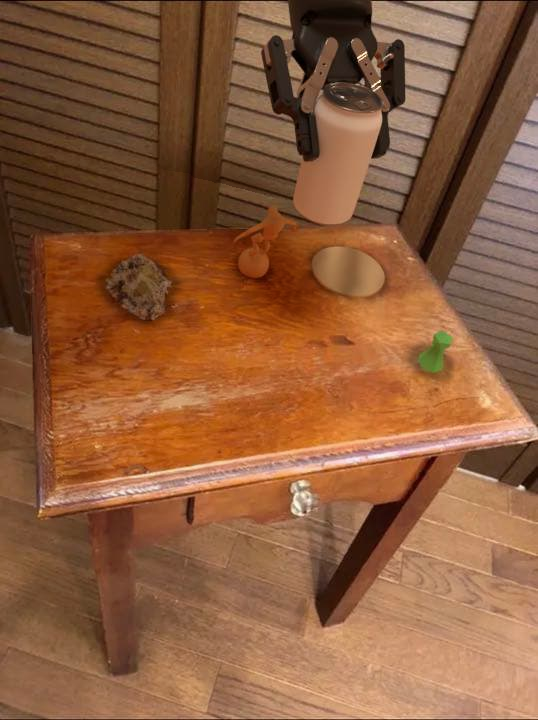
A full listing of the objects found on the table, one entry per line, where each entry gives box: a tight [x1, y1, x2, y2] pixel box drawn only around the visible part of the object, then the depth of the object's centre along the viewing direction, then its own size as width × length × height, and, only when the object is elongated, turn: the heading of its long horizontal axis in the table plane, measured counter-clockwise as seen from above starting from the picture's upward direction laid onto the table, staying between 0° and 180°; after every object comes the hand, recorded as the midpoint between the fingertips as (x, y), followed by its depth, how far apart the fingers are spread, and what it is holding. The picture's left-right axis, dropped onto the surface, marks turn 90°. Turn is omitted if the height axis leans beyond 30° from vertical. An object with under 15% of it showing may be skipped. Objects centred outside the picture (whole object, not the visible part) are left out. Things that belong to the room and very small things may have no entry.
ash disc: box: [310, 245, 386, 299], centre depth 79 cm, size 10×10×2 cm
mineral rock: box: [105, 253, 174, 321], centre depth 70 cm, size 11×4×8 cm
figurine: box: [232, 204, 298, 279], centre depth 72 cm, size 8×6×12 cm
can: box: [292, 82, 383, 227], centre depth 57 cm, size 6×6×12 cm
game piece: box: [417, 330, 453, 374], centre depth 68 cm, size 4×4×6 cm
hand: (345, 157), depth 55 cm, fingers closed on can, 6 cm apart
